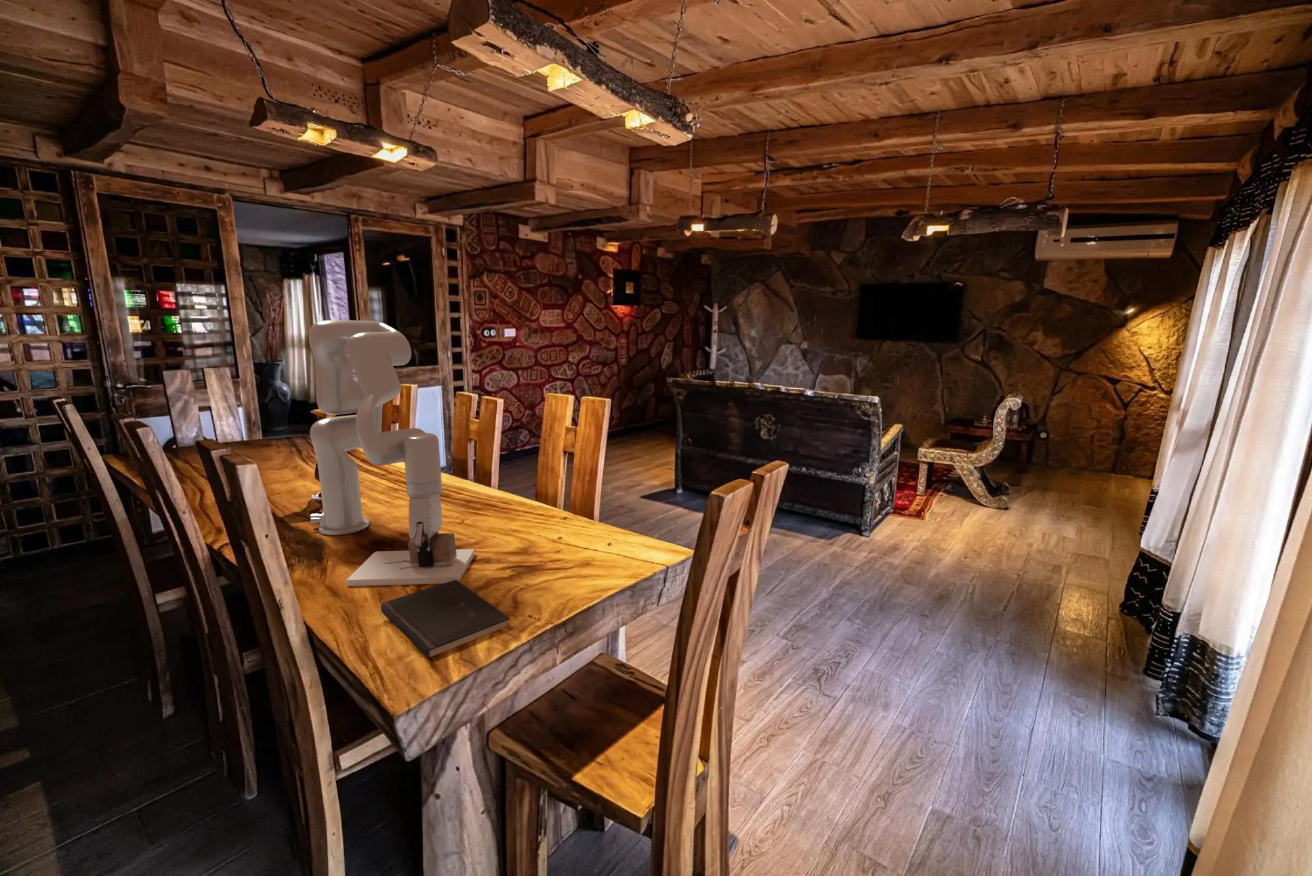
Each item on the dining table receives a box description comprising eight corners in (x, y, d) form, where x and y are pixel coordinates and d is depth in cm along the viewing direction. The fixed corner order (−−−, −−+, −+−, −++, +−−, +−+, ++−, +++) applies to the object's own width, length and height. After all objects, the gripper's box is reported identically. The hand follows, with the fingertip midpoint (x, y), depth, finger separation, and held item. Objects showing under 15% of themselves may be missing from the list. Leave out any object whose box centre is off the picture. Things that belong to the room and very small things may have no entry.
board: (347, 586, 126) (346, 579, 126) (375, 557, 142) (375, 551, 141) (458, 582, 128) (457, 576, 128) (474, 554, 144) (474, 548, 143)
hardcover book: (456, 588, 126) (456, 579, 126) (510, 628, 110) (510, 617, 110) (381, 613, 115) (380, 603, 115) (428, 661, 99) (427, 649, 99)
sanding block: (411, 567, 132) (407, 542, 131) (418, 558, 137) (415, 534, 136) (450, 564, 133) (447, 540, 131) (456, 556, 137) (454, 532, 136)
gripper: (419, 477, 139) (425, 547, 143) (394, 498, 122) (401, 577, 126) (451, 477, 140) (455, 546, 143) (430, 497, 123) (436, 576, 127)
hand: (430, 560), depth 135 cm, fingers closed on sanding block, 5 cm apart
